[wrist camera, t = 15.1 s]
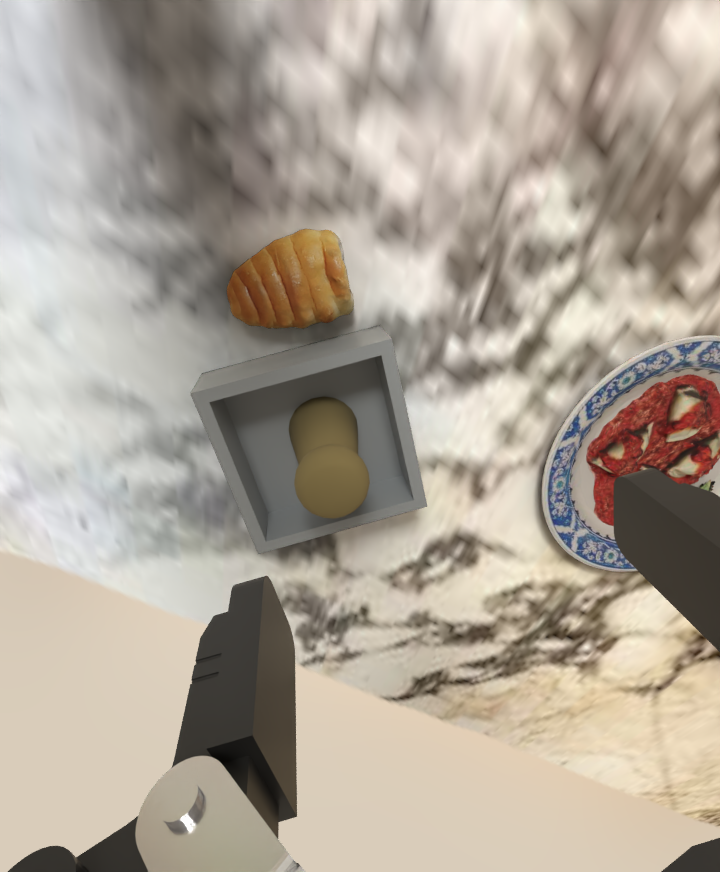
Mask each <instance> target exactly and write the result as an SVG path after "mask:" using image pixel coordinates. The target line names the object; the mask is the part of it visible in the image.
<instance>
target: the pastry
mask: <svg viewBox="0 0 720 872" xmlns="http://www.w3.org/2000/svg"><path fill="white" fill-rule="evenodd" d="M343 258H344V252H343V249H342V245H341V242H340V239H339V238H338V237H337V235H336V234H335V233H333V232H332V231H329V230H321V231H318V230H311V229H303V230H299V231H298V232H296V233H294V234H292V235H289V236H286V237H284V238H281V239H277V240H275V241H273V242H272V243H271V244H270V245H268V246H266V247H265V248H263V249H262V250H261V251H260V252H258V253H257V254H256V255H254V256H253V257H252V258H250V259H248V260H247V261H246V262H245V263H243V264H242V265H241V266H240V267H239V268H238V269H236V270H235V271H234V272H233V274H232V277H231V279H230V281H229V284H228V286H227V296H228V300H229V303H230V309H231V312H232V314H233V316H234V317H236V318H237V319H240V320H241V321H243V322H245V323H246V324H248V325H250V326H264V327H266V328H276V329H277V328H289V327H296V328H301V329H304V328H307V327H308V326H309V325H312V324H316V323H319V322H324V323H328V322H332V321H333V320H334V319H336V318H337V317H339V316H341V315H348V314H350V313H351V312H352V310H353V307H354V299H353V294H352V292H351V290H350V287H349V281H348V276H347V270H346V267H345V264H344V262H343Z"/></svg>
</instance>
